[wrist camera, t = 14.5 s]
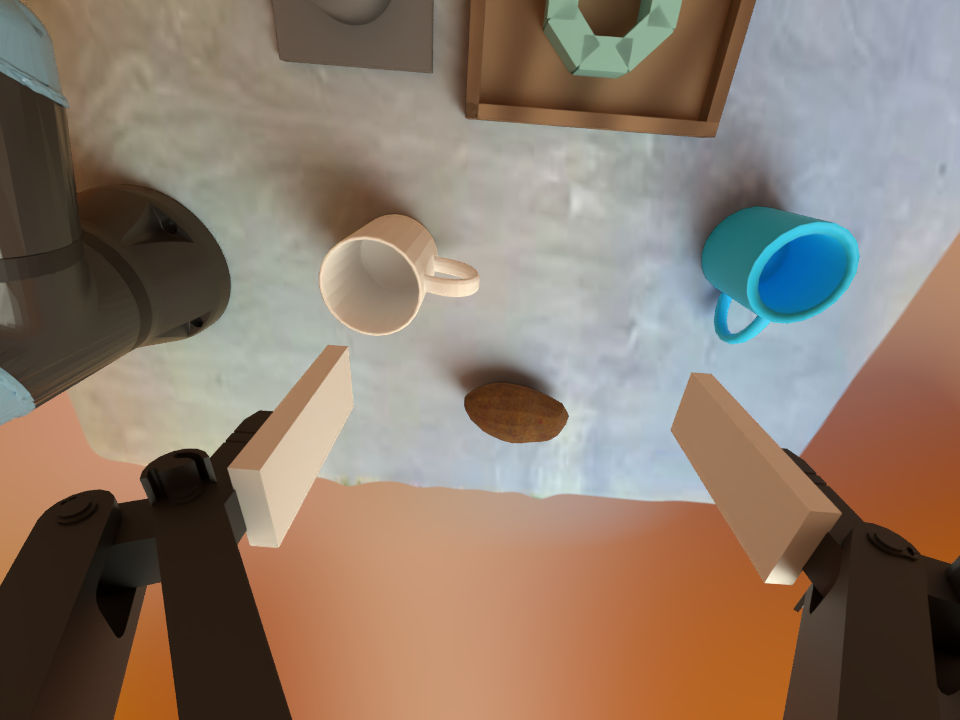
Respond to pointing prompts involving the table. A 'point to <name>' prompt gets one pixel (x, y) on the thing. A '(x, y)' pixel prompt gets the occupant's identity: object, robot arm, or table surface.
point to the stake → (356, 33)
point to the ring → (606, 52)
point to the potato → (515, 413)
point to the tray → (596, 100)
